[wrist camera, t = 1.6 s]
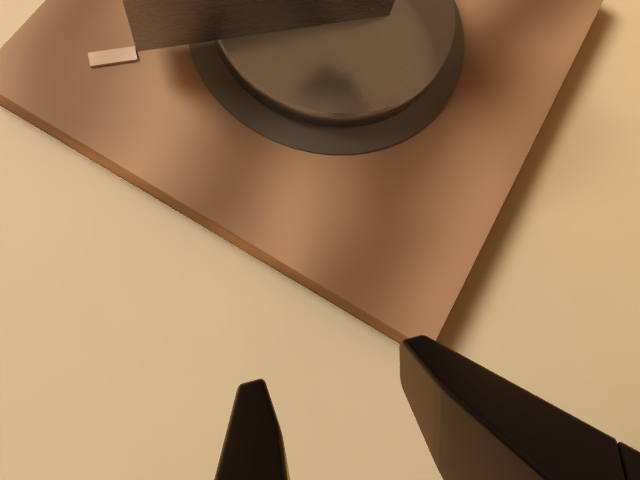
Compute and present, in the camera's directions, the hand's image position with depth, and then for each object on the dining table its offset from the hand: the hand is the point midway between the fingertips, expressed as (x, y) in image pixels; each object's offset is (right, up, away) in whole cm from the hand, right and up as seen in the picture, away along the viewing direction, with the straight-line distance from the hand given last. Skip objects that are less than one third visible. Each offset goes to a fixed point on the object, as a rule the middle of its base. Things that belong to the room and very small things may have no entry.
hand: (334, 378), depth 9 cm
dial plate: (0, +11, +16) cm, 20 cm away
